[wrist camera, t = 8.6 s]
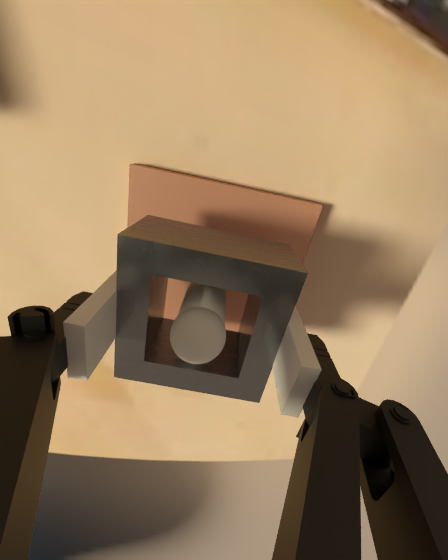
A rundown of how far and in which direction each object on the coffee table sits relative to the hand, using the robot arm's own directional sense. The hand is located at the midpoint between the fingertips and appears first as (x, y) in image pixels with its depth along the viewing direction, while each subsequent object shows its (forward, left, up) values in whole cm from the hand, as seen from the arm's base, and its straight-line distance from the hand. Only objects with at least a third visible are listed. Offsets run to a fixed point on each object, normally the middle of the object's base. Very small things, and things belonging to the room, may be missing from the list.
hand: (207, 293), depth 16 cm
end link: (0, 0, 0) cm, 0 cm away
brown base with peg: (0, 0, -4) cm, 4 cm away
